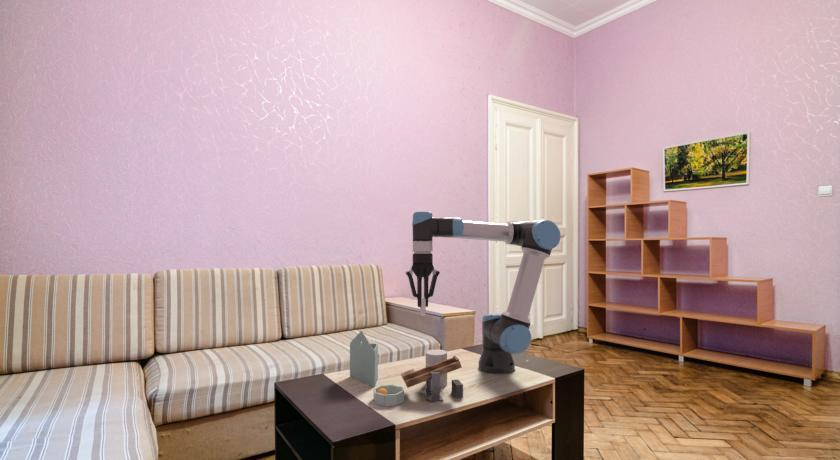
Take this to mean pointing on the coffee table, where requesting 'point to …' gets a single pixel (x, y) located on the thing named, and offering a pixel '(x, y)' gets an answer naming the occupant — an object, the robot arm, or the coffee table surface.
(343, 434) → the coffee table surface
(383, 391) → the ball
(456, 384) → the block
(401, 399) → the bowl
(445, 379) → the pale pink cylinder
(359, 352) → the planter
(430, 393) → the fulcrum
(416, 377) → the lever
